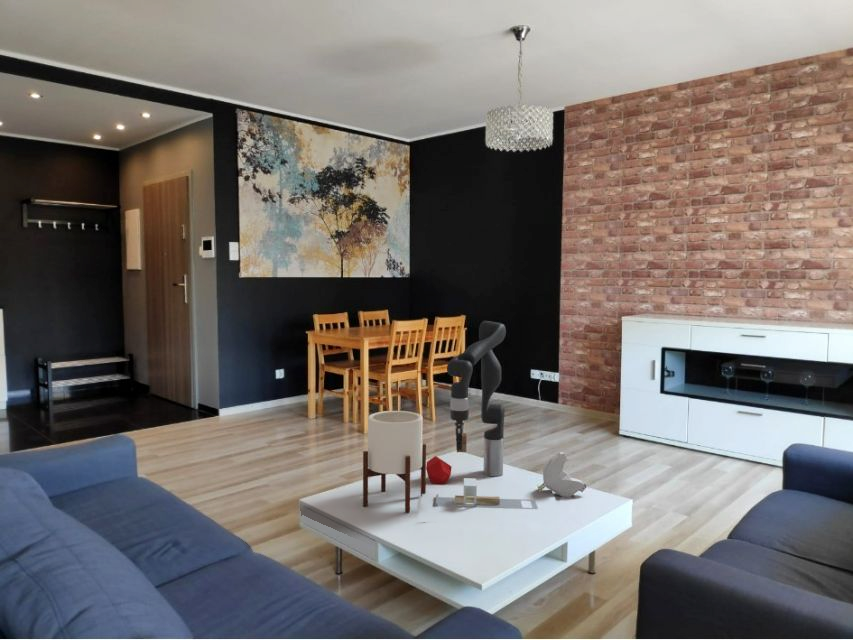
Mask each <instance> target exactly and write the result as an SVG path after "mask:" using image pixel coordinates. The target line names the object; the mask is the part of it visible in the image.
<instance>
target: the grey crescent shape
mask: <svg viewBox="0 0 853 640" xmlns="http://www.w3.org/2000/svg"><path fill="white" fill-rule="evenodd" d="M566 461H567V457H566V454H565V453H564V452H561V451H560V452H558V453H556V454H555V455H554V456H552V457H551V458H550V459H549V460H548V462H547V464H546V465H545V467H544V468H543V471H542V479H543V483H542V484H541V485H537V490H538V492H539V493H541V491H543V490H544V489H545V488H547V489H548V490H550V491H552V492H554V493H556V494H557V496H560V497H572V496H573V495H575V494H576V493H577V492H581V493H583V492H584V491H585V490H586V488H587V485H586V483H584V482H582V480H580V479H577V478H574V477H571V476H569V474H568V473H567V472H566V470H564V466H565V464H566Z"/></svg>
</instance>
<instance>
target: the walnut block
mask: <svg viewBox="0 0 853 640" xmlns="http://www.w3.org/2000/svg"><path fill="white" fill-rule="evenodd" d="M457 438H461V437H457ZM456 453H467V432H463V436H462V450H457V449H456Z"/></svg>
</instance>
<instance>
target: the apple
mask: <svg viewBox="0 0 853 640" xmlns="http://www.w3.org/2000/svg"><path fill="white" fill-rule="evenodd" d="M451 474H452V465H450V464H449V463H448V462H446V461H444V460H443V459H442V458H440V457H438V456H436V455H435V456H433V457H431V458H430V459H429V460H428V461H427V460H426V475H427V477H428V480H429V482H430V483H432V484H434V485H435V486H437V485H439V486H440V485H447V483H448V481H449V479H450V477H451Z"/></svg>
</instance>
